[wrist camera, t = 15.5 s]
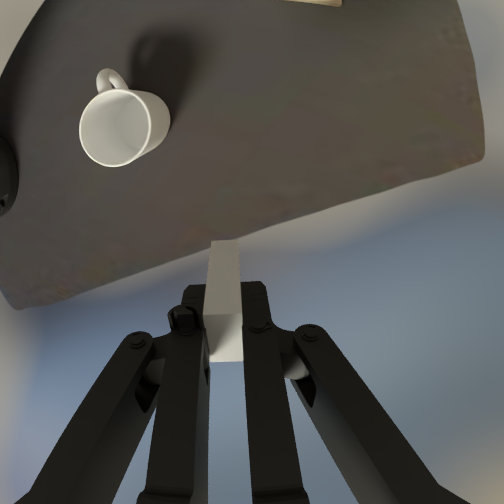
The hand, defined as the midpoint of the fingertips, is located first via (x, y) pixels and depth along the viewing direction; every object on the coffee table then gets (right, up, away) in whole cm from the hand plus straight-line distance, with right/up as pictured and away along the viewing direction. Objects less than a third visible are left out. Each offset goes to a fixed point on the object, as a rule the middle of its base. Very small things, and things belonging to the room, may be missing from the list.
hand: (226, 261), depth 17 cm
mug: (-14, +19, +17) cm, 29 cm away
